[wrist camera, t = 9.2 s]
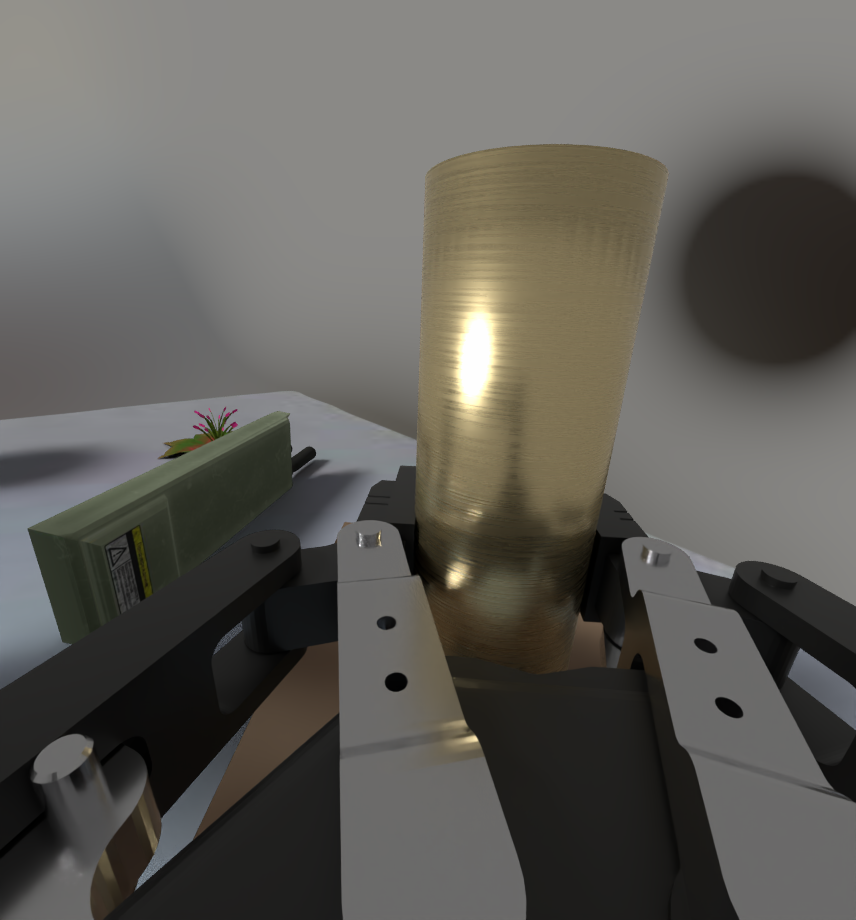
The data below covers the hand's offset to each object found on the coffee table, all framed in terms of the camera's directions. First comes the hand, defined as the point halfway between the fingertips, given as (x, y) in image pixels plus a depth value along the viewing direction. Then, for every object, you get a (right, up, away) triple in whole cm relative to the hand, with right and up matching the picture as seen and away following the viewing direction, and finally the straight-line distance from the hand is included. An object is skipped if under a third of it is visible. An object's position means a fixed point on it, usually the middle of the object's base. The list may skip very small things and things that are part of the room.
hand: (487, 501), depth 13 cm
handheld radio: (-16, -4, +19) cm, 26 cm away
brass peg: (0, -10, +1) cm, 10 cm away
